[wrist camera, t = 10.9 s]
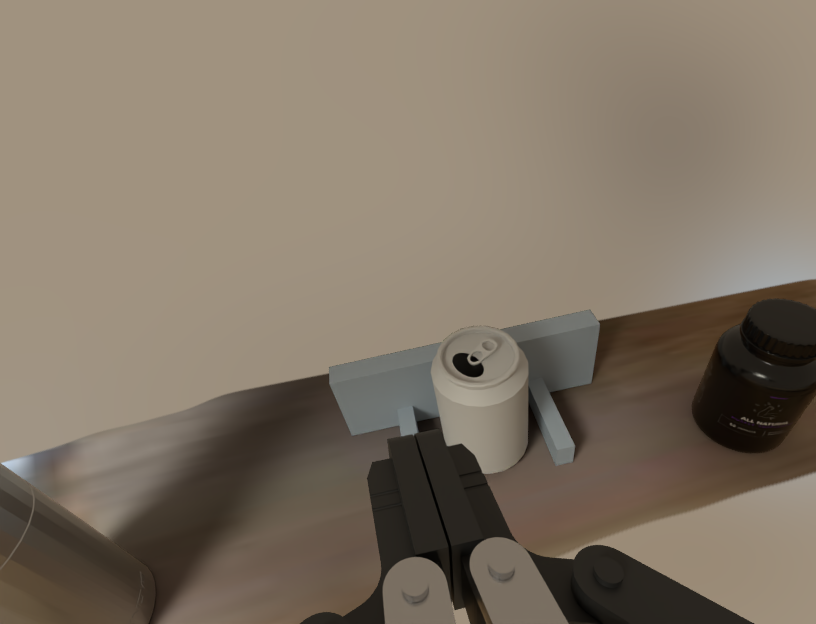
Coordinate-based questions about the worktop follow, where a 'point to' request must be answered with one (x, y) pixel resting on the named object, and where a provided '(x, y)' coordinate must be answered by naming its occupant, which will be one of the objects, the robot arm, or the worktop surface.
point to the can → (483, 395)
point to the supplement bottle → (759, 377)
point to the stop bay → (414, 392)
